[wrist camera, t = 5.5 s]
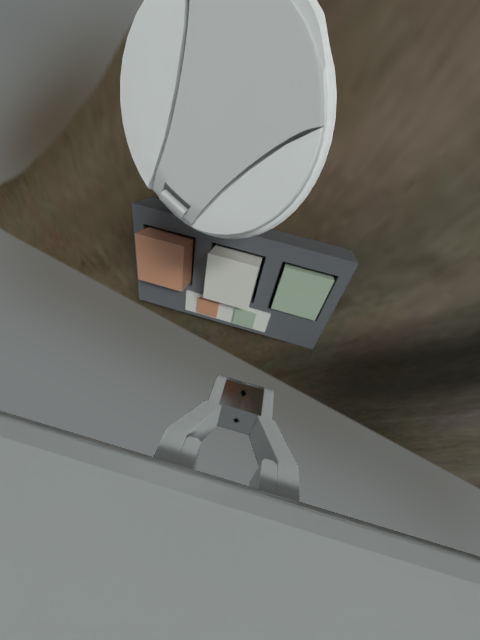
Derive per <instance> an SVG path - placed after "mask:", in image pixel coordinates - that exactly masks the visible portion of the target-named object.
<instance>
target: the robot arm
mask: <svg viewBox="0 0 480 640" xmlns="http://www.w3.org/2000/svg"><path fill="white" fill-rule="evenodd" d="M273 402H274V391H273V390H270V389H267V388H263V387H260V386H256V385H253V384H249V383H246V382H245V383H244V382H241V381H238V380H235V379H231V378H228V377H225V376H222V375H217V377H216V379H215V382H214V385H213V388H212V391H211V393H210V396H209V399H208V401H206V400H205V401H203V402H202V403H201V404H199V405H198V406H196V407H195V408H194V409H192V410H191V411H190V412H188V413H187V414H186V415H184V416H183V417H182V418H180V419H179V420H178V421H176V422H175V423H173V424H172V425H171V426H169V427H168V428H167V429H166V432H165V433H164V436H163V438H162V440H161V442H160V444H159V446H158V448H157V450H156V452H155V454H154V456H153V457H151V456H148V455H144V454H141V453H138V452H135V451H131V450H128V449H125V448H121V447H118V446H114V445H111V444H108V443H105V442H102V441H98V440H95V439H92V438H89V437H85V436H82V435H79V434H75V433H72V432H69V431H65V430H62V429H59V428H56V427H52V426H49V425H45V424H42V423H39V422H35V421H32V420H29V419H26V418H23V417H19V416H16V415H13V414H9V413H6V412H3V411H0V640H480V557H479V556H476V555H473V554H469V553H466V552H463V551H460V550H456V549H453V548H450V547H446V546H443V545H440V544H436V543H433V542H430V541H427V540H423V539H420V538H417V537H413V536H410V535H407V534H404V533H400V532H397V531H394V530H391V529H387V528H384V527H381V526H377V525H374V524H371V523H368V522H364V521H361V520H358V519H354V518H351V517H348V516H345V515H341V514H338V513H335V512H331V511H328V510H325V509H322V508H318V507H315V506H312V505H309V504H305V503H302V502H299V467H298V465H297V464H296V461H295V459H294V457H293V455H292V453H291V451H290V449H289V447H288V445H287V443H286V442H285V440H284V438H283V436H282V434H281V432H280V430H279V428H278V426H277V424H276V422H275V421H274V420H272V414H273ZM217 426H219V427H223V428H227V429H231V430H234V431H237V432H240V433H244V434H246V435H249V438H250V441H251V444H252V447H253V450H254V453H255V457H256V460H257V463H258V466H259V467H258V469H257V470H256V472H255V474H254V476H253V477H252V479H251V481H250V484H249V486H246V485H242V484H239V483H236V482H233V481H230V480H227V479H223V478H220V477H217V476H213V475H210V474H207V473H203V472H200V471H197V470H195V468H196V464H197V459H198V454H199V449H200V444H201V441H202V440H203V439H204V438H205V437H207V436H208V435H209V434H210V433H211V432H212V431H213V430H214V429H215V428H216V427H217Z"/></svg>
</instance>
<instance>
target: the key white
mask: <svg viewBox="0 0 480 640" xmlns="http://www.w3.org/2000/svg"><path fill="white" fill-rule="evenodd" d="M262 258H263V257H260V256H256V255H253V254H249V253H245V252H241V251H238V250H234V249H230V248H227V247H223V246H219V245H215V246H214V248H213V249H212V250H211V251H210V252H209V253H208V257H207V266H206V275H205V283H204V292H203V298H206V299H209V300H213V301H216V302H220V303H223V304H227V305H230V306H234V307H237V308H241V309H244V310H248V308H249V305H250V302H251V299H252V296H253V292H254V288H255V284H256V281H257V277H258V273H259V269H260V266H261V262H262Z"/></svg>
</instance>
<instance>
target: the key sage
mask: <svg viewBox="0 0 480 640" xmlns="http://www.w3.org/2000/svg"><path fill="white" fill-rule="evenodd" d="M333 283H334V277H333V275H332V274H328V273H324V272H320V271H317V270H313V269H309V268H306V267H302V266H298V265H295V264H291V263H287V262H284V265H283V268H282V271H281V274H280V277H279V280H278V283H277V286H276V289H275V293H274V296H273V300H272V305H271V309H275V310H278V311H282V312H285V313H289V314H292V315H296V316H299V317H303V318H307V319H310V320H314V321H315V319H316V317H317V315H318V313H319V311H320V309H321V307H322V305H323V303H324V301H325V299H326V297H327V295H328V293H329V291H330V289H331V287H332V285H333Z"/></svg>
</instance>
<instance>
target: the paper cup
mask: <svg viewBox="0 0 480 640" xmlns="http://www.w3.org/2000/svg"><path fill="white" fill-rule="evenodd" d="M336 100H337V91H336V78H335V68H334V63H333V58H332V54H331V49H330V44H329V38H328V32H327V26H326V20H325V14H324V12H323V10H322V8H321V7H320V5H319V3H318V1H317V0H144V1H143V3H142V5H141V7H140V8H139V10H138V12H137V14H136V16H135V18H134V21H133V24H132V26H131V29H130V31H129V34H128V37H127V41H126V46H125V50H124V54H123V59H122V68H121V78H120V103H121V112H122V120H123V126H124V130H125V135H126V139H127V143H128V146H129V149H130V152H131V155H132V158H133V160H134V162H135V165H136V167H137V169H138V171H139V173H140V175H141V177H142V179H143V180H144V182H145V184H146V185H147V187H148V188H149V189H153V191H154V192H155V193H156V194H157V195H158V197H159V199H160V200H161V201H162V202H163V203H164V204H165V206H166V207H167V208H168V209H169V210H170V211H171V212H172V213H173V214H174V215H175V216H176V217H178V218H179V219H180V220H182V221H183V222H184V223H185V224H187V225H189V226H190V227H192V228H194V229H195V230H197V231H199V232H202V233H204V234H207V235H210V236H214V237H218V238H225V239H240V238H248V237H252V236H255V235H259V234H261V233H264V232H266V231H268V230H270V229H272V228H274V227H275V226H277V225H278V224H280V223H281V222H283V221H284V220H285V219H286V218H288V217H289V216H290V215H291V214H292V213H293V212H294V211H295V210H296V209H297V208H298V207H299V206H300V204H301V203H302V202H303V201H304V200H305V198H306V197H307V196H308V194H309V193H310V191H311V189H312V188H313V186H314V184H315V183H316V181H317V179H318V177H319V175H320V173H321V170H322V168H323V166H324V164H325V161H326V158H327V155H328V151H329V148H330V145H331V142H332V136H333V130H334V125H335V119H336Z"/></svg>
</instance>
